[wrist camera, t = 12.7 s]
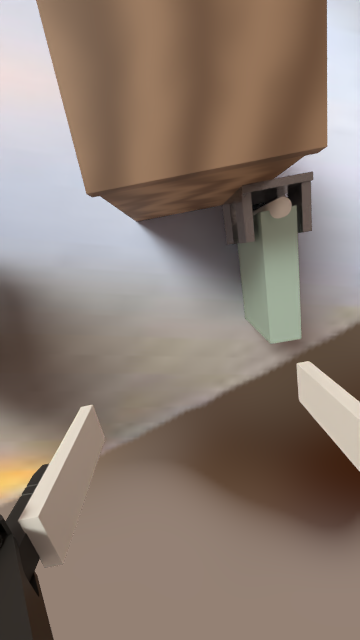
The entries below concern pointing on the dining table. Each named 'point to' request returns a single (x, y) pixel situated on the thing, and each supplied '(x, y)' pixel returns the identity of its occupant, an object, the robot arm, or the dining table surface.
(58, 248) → the dining table surface
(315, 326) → the dining table surface
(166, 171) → the cabinet
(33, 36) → the dining table surface
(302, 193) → the grey open frame
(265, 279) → the door
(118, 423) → the dining table surface
